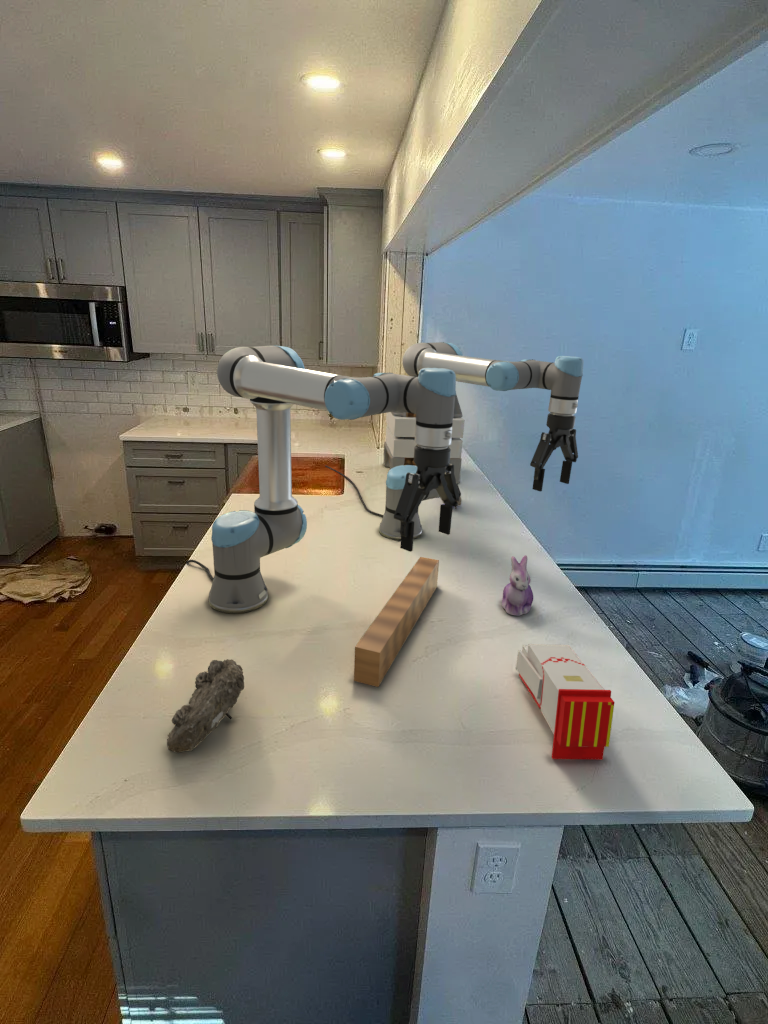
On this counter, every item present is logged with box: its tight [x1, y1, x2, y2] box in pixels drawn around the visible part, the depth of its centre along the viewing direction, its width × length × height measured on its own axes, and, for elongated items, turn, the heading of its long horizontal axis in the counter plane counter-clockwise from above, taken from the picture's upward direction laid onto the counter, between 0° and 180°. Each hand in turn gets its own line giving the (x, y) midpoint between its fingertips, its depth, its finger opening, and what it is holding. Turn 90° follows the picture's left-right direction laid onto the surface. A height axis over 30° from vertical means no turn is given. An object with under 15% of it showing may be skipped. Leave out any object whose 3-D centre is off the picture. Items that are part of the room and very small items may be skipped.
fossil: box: [166, 658, 245, 754], centre depth 106 cm, size 22×10×15 cm
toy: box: [515, 643, 615, 761], centre depth 113 cm, size 12×13×30 cm
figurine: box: [501, 555, 534, 617], centre depth 150 cm, size 9×10×15 cm
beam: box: [353, 556, 440, 688], centre depth 140 cm, size 50×6×8 cm, turn 161°
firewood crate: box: [383, 394, 465, 484], centre depth 268 cm, size 34×33×41 cm
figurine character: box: [452, 483, 462, 510], centre depth 230 cm, size 7×8×15 cm
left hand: (426, 541), depth 124 cm, fingers open, 13 cm apart
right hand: (550, 486), depth 165 cm, fingers open, 13 cm apart
